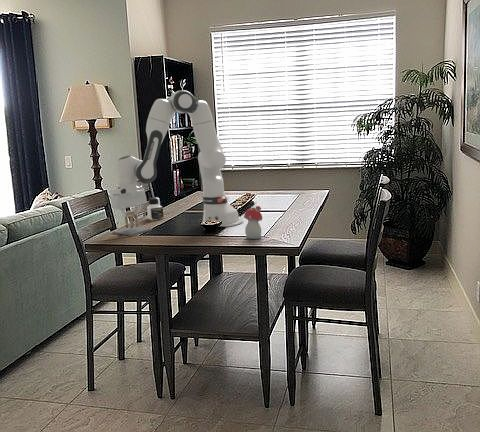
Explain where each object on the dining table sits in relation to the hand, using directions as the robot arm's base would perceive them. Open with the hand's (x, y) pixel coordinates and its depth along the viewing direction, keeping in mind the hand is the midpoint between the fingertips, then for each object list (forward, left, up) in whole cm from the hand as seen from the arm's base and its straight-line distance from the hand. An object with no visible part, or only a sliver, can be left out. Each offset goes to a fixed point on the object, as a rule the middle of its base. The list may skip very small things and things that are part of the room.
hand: (130, 215), depth 280 cm
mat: (0, 0, -9) cm, 9 cm away
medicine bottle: (+15, -30, -9) cm, 35 cm away
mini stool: (0, 0, -6) cm, 6 cm away
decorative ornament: (-66, -16, -9) cm, 68 cm away
